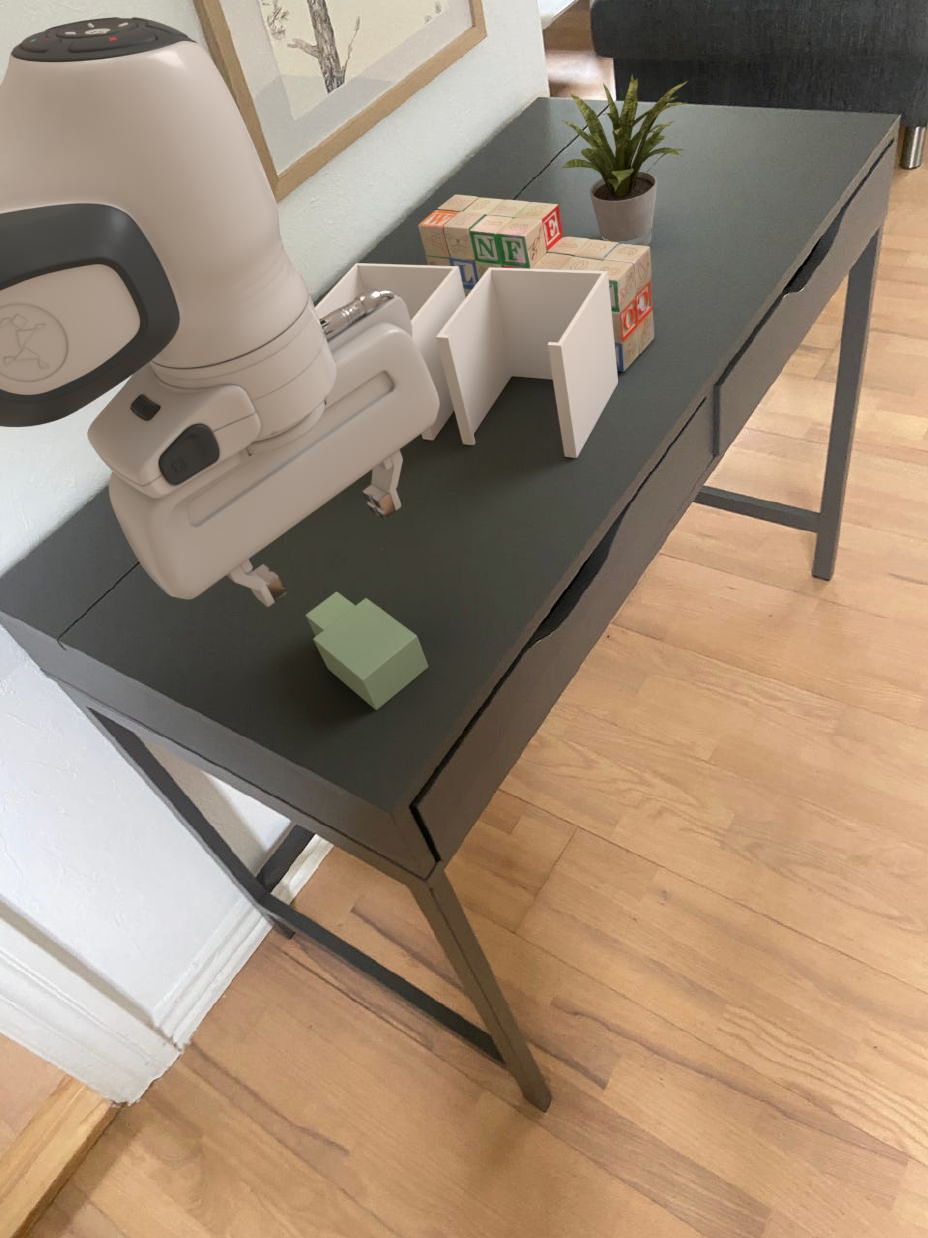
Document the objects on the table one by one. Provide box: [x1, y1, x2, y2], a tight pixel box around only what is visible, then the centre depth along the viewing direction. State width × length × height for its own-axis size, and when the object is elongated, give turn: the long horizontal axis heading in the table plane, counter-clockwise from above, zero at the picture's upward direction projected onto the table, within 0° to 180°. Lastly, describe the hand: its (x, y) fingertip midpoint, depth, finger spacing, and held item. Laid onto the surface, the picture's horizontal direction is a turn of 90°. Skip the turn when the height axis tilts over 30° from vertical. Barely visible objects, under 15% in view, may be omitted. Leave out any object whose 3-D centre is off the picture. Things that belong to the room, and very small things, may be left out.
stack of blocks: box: [417, 194, 655, 373], centre depth 87 cm, size 21×6×12 cm, turn 54°
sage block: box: [305, 591, 429, 711], centre depth 66 cm, size 5×8×4 cm, turn 42°
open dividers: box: [314, 262, 619, 459], centre depth 82 cm, size 25×11×11 cm, turn 65°
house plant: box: [560, 73, 689, 246], centre depth 94 cm, size 14×14×16 cm
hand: (330, 552), depth 58 cm, fingers open, 8 cm apart
